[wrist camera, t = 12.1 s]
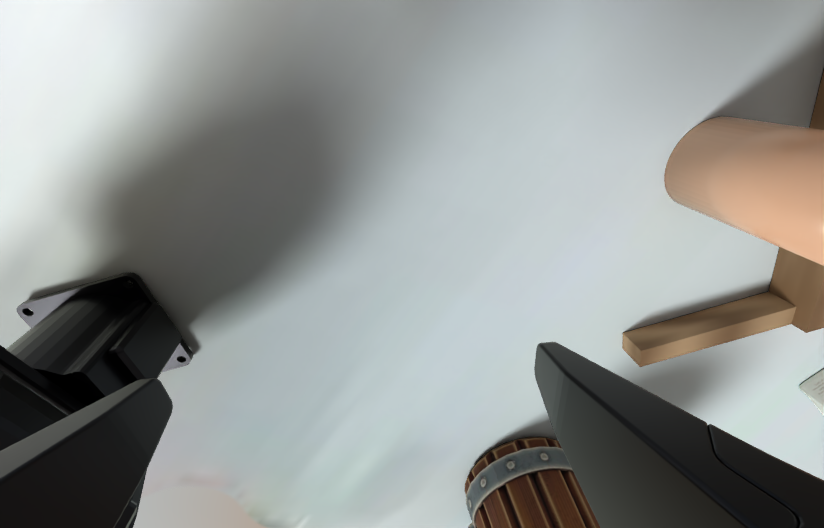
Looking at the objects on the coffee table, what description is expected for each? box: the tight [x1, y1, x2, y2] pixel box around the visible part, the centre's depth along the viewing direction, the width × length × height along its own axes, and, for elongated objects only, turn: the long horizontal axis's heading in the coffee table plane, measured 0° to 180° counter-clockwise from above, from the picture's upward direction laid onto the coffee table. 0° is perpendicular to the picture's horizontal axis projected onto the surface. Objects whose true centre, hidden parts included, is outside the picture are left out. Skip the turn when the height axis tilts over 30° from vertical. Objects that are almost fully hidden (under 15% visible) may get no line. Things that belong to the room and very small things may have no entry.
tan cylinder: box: [664, 116, 824, 266], centre depth 18 cm, size 5×5×10 cm
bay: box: [622, 71, 824, 367], centre depth 21 cm, size 13×26×3 cm, turn 14°
